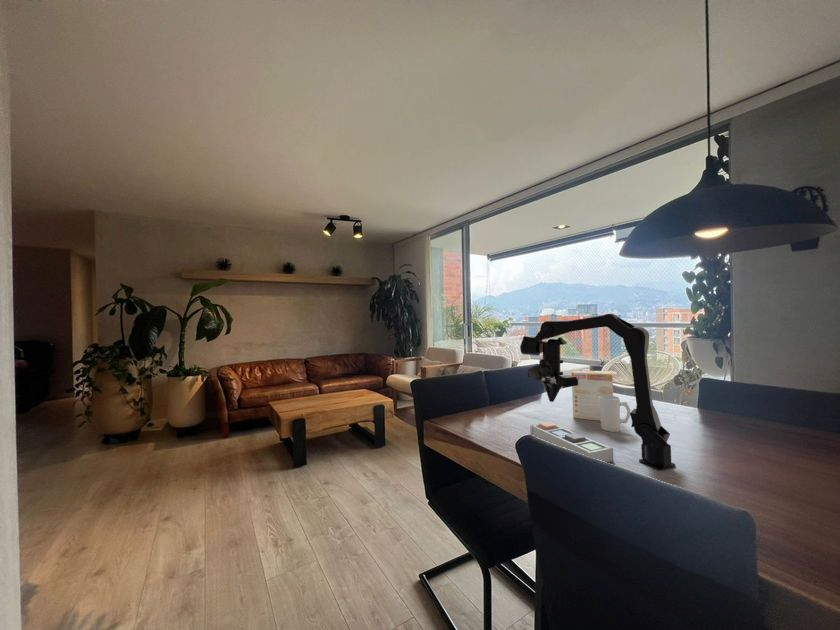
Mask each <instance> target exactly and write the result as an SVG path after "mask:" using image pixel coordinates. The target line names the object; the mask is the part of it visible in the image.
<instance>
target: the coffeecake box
mask: <svg viewBox="0 0 840 630" xmlns="http://www.w3.org/2000/svg"><path fill="white" fill-rule="evenodd" d="M571 376H574V377H576V378H577V379H578V386H571V393H572V394H571V395H572V398H571V400H572V418H573V419H579V420H580V419H581V420H589V421H597V422H601V418H600V401H599V396H602V395H610V396H614V386H613V385H614V384H613V382H614V379H613V371H609V370H608V371H607V370H588V369H587V370H585V369H583V370H582V369H581V370H580V369H573V370H572V371H571Z"/></svg>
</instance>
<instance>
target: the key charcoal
mask: <svg viewBox="0 0 840 630" xmlns="http://www.w3.org/2000/svg"><path fill="white" fill-rule="evenodd" d="M585 437H586V436H584V435H581V434H579V433H576V432H574V433H571V434H566V435H565V440H567V441H569V442H571V443H573V444H574V443H579V442H584V441H585Z"/></svg>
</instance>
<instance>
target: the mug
mask: <svg viewBox="0 0 840 630" xmlns="http://www.w3.org/2000/svg"><path fill="white" fill-rule="evenodd" d="M620 399H621V398H620V397H619V396H616V395H613V396H610V395H602V396H599V401H600V418H601V421H600V429H602V430H603V431H605V432H611V433H612V432H613V433H615V432H616V433H618V432H620V430H621V424H627V423H628V422H629V419H630V418H631V416H630V413H631V408H630V406H629V405H628V402H627V401H620ZM622 406H623V407H625V409H626V411H627V412H626V416H625V418H621V416H620V415H621V410H620V409H621V408H620V407H622Z"/></svg>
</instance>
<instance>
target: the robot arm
mask: <svg viewBox="0 0 840 630" xmlns="http://www.w3.org/2000/svg"><path fill="white" fill-rule="evenodd" d="M605 327H606V328H608V329H610V331H612V332H613V333H614V334H616V335H617V336H619V337H620V338H621V339H622V340H623V343H624V347H625V349H626V351H627V354H628V356H629V358H630V365H631V371H632V378H633V379H632V380H633V386H634V387H633V388H634V394H635V395H634V396H635V401H636V402H635V404H636V408H633V410H631V411H630V419H631V427H630V428H633V429H634V433H635V434H636V435H638V436H639V437H640V438H641V441H642V442H641V444H640V446H641V458H639V459H638V461H639V463H642V464H645V465H647V466H650V467H652V468H654V469H657V470H658V471H662V470H665V469H670V468H673V467H676V464H675V463H673V462H672V445H671V444H669V443H668V440H669V437H670V436H671V433H670V432H669V431H668V430H666V429H665V428H664V427H663V426H662V423H661V421H660V420H661V419H660V417H659V414H658V412H657V410H656V408H655V406H654V403H653V397H652V395H653V394H652V388H651V387H652V385H651V379H650V373H649V372H650V371H649V365H648V351H649V347H650V346H649V343H650V333H649V331H648V330H647V329H646V328H644V327H642V326H635V325H633V324H631V323H630V322H628V321H626V320H624V319H622V318H620V316H617V315H616V314H614V313H606V314H603V315H598V316H592V317H586V318H585V317H583V318H579V319H573V320H546V321H544V322H542V324H541V325H540V328H539V329H540V330H539V331H538V332H537V333H536V335H535V336H531V335H530V336H529V335H524V336H522V338H523V339H522V340H521V344H520V346H519V350H520V353H521V354H522V355H525V356H537V357H538V356H540V355H541V354H542V358H540V359H539V361H538V363H539V364H536V365H534V366H533V367H530V368H529V369H527V377H528V378H530V380H535V381H538V383H540V384H542V385H543V387H544V389H545V392H546V395H547V398H548V400H549V402H551V403H554V401H555V400H556V398H557V395H558V394H559V392H560V390H561V388H562V387H563V388H567V387H568V388H570V387H572V386H578V379H577V378H576V377H574V376H572V375H570V374H566V375H564V371H561V364H564V359H561V346H562V345H567V344H568V342H567V341H566V340H565V339H564V338H563V337H561V336H562V335H565V334H568V333H571V332H572V333H573V332H575V331H577V332H578V331H584V330H585V331H586V330H591V329H592V330H593V329H597V328H599V329H600V328H605ZM559 336H560V337H559ZM557 337H558V338H557ZM555 338H556V339H555ZM543 340H547V341H543Z"/></svg>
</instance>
